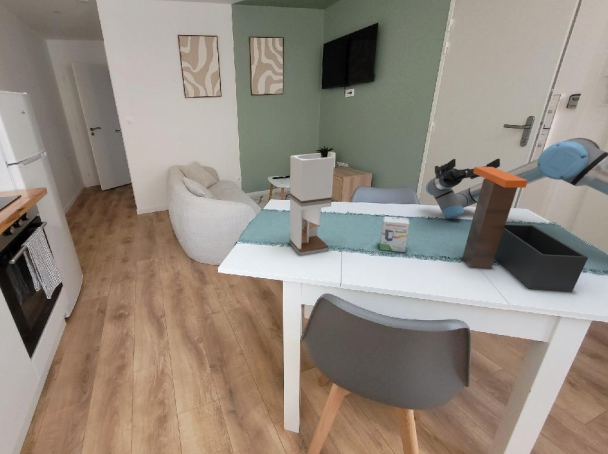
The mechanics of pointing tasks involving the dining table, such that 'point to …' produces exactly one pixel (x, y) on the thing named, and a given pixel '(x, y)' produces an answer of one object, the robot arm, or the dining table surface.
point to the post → (488, 224)
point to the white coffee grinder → (309, 200)
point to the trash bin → (539, 259)
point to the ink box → (394, 234)
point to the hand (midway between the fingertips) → (476, 162)
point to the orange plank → (500, 177)
